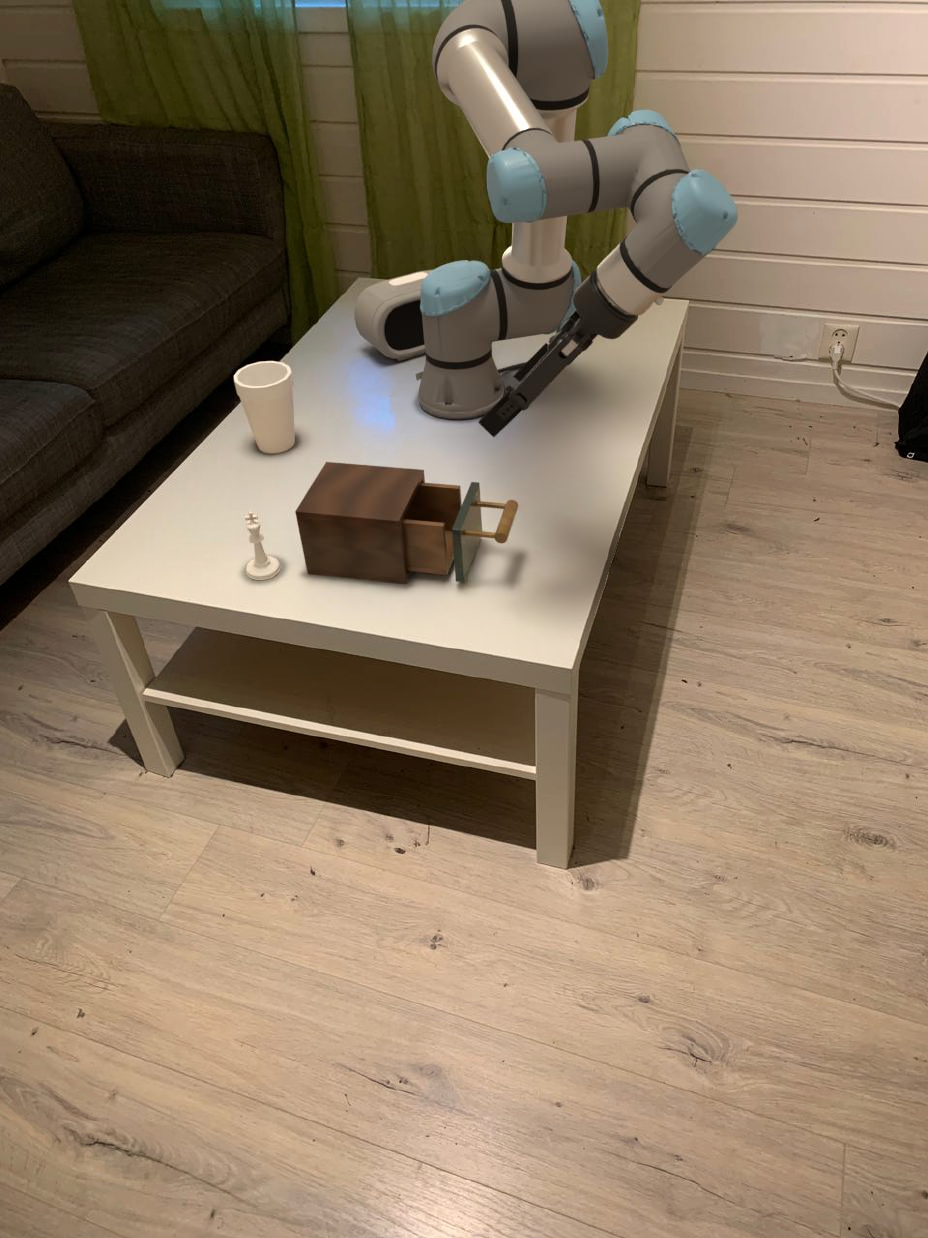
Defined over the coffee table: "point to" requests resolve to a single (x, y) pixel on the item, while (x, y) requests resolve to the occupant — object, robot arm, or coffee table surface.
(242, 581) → the coffee table surface
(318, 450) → the coffee table surface
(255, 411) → the foam cup
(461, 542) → the drawer
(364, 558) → the cabinet
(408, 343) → the alarm clock
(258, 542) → the chess piece
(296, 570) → the coffee table surface
